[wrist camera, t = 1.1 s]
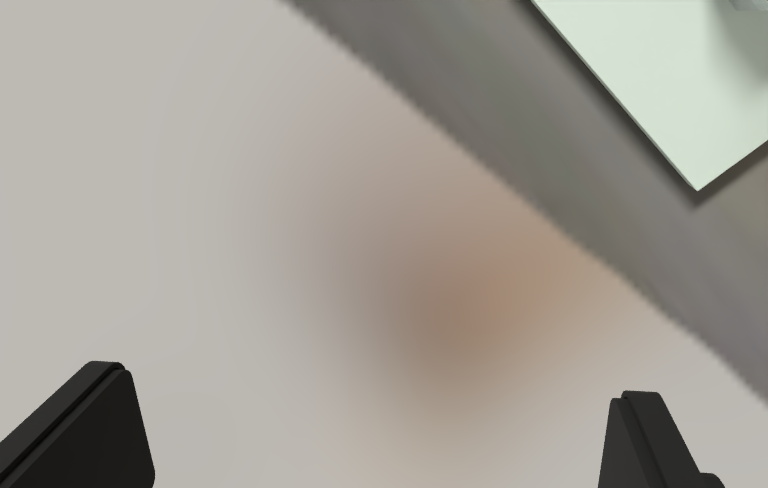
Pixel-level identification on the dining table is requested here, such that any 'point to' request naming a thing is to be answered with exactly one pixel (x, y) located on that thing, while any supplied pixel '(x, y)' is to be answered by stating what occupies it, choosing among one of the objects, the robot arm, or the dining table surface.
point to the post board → (678, 72)
